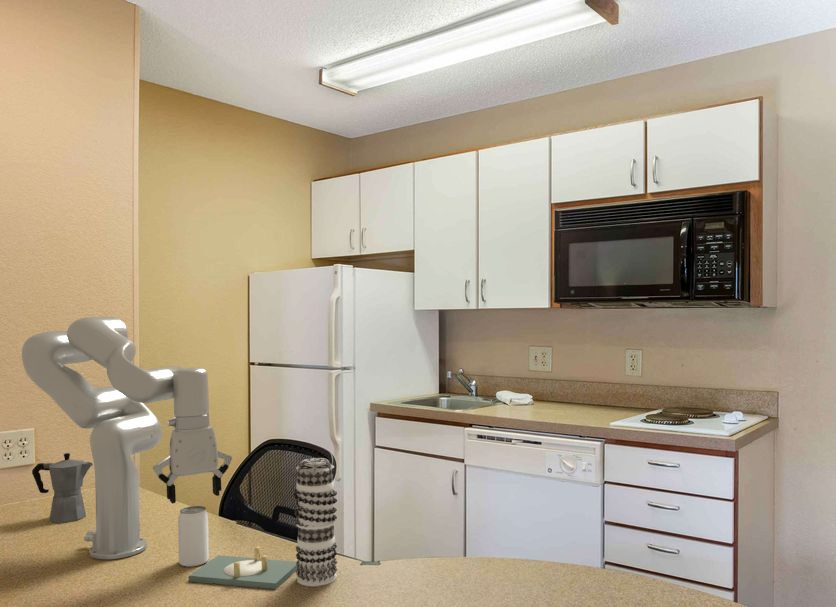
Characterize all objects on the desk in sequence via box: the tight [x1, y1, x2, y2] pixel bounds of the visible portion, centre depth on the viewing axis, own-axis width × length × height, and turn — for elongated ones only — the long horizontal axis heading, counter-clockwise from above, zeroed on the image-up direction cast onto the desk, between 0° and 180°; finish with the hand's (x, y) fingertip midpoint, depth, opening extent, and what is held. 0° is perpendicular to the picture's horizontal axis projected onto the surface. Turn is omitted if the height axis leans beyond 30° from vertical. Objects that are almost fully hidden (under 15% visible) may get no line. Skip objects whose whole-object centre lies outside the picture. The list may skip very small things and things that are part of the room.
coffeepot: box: [31, 452, 94, 524], centre depth 192 cm, size 15×9×18 cm, turn 103°
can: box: [177, 505, 210, 568], centre depth 157 cm, size 6×6×12 cm
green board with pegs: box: [188, 546, 297, 590], centre depth 150 cm, size 20×12×4 cm, turn 76°
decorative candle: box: [292, 457, 338, 587], centre depth 147 cm, size 9×9×25 cm
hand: (194, 498), depth 157 cm, fingers open, 9 cm apart
